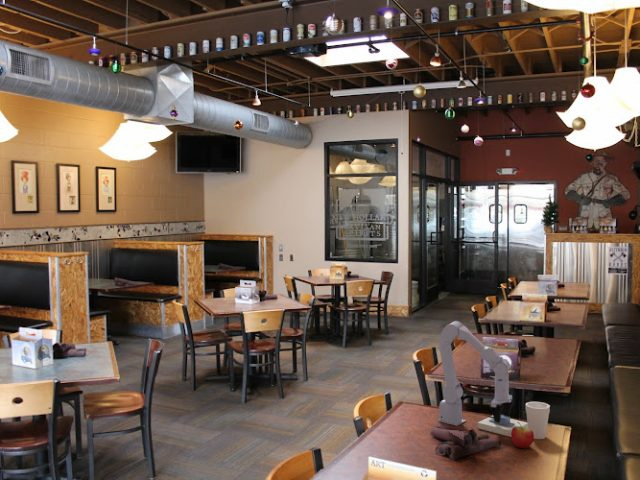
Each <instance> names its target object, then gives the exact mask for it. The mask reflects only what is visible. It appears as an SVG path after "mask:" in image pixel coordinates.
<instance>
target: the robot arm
mask: <svg viewBox="0 0 640 480" xmlns="http://www.w3.org/2000/svg"><path fill="white" fill-rule="evenodd" d="M455 339H457V340H462V341H463V340H464V341H465V342H466V343H468V344H469V345H471V347H473V348H474V349H475V350H476V351H478V352H479V357H480V358H482V360H483V361H484V362H486V363H487V365H489V366H490V367H491V368H492V370H493V372H494V398H493V400H492V401H491V402H490V404H489V405H488V406H489V409H490V411H491V413H492V415H493V417H494V421H495V422H497V423H500V419H501V415H504V416H508V417H510V415H511V411H512V407H514V404H515V401H513V395H512V394H509V392H510V382H509V381H510V380H509V378H510V377H509V371H510V368H511V365H510V362H509V361H508V360H507V359H506V358H504V357H503V356H500V355H499V354H498V353H497V352H496V351H495V348H493V347H492V348H491V347H490V346H485V345H484V344H483V343H482V342H481V340H479V338H477V337H476V336H475V335H474V334H473V332H471V331H470V330H469V329H468V327H467V326H465V325H464V324H463V323H462V322H460V321H458V320H454V321H452V322H451V323H449V324H448V323H447V324H446V325H445V326H444V327H443V329H442V330H441V334H440V337H439V338H438V348H439V352H440V353H439V354H440V359H441V364H442V370H443V376H444V388H443V389H444V392H443V399H442V400H441V401H440V402H439V406H438V411H439V412H438V414H439V416H438V417H439V419H438V420H437V421H438V422H439V423H440V422H441V423H444V424H449V425H451V426H459V425H461V424H463V423H466V422H467V420H466V419H463V407H462V406H463V402H462V401H463V400H462V399H461V397H463V395H464V390H463V387H462V385H461V383H460V381H459V379H458V377H457V372H456V365H455V361H454V355H453V349H452V343H453V341H455ZM500 405H501V406H500Z"/></svg>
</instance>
